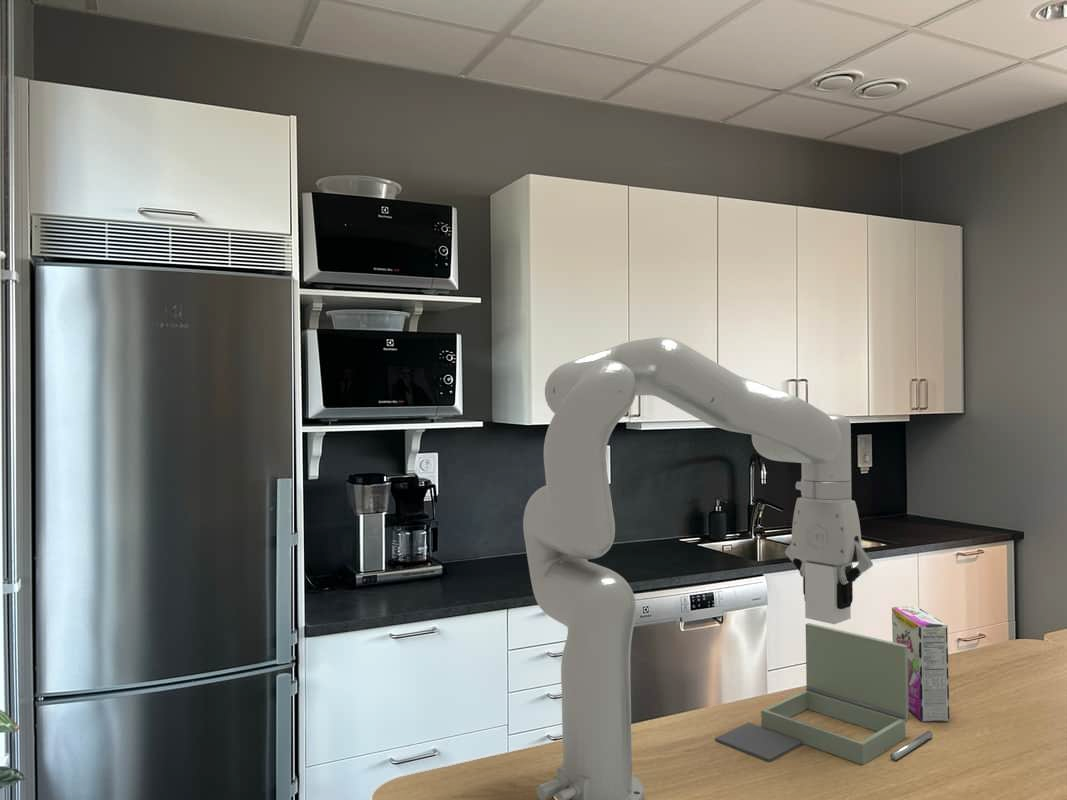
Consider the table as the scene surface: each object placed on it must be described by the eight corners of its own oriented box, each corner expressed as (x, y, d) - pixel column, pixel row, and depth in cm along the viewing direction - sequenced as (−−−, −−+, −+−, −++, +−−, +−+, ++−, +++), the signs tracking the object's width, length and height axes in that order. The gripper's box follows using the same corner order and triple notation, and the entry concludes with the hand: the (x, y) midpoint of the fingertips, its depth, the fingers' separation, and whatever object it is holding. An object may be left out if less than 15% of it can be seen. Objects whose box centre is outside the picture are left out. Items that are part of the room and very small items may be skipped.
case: (862, 764, 118) (861, 666, 118) (761, 728, 131) (760, 640, 131) (909, 735, 127) (908, 645, 127) (810, 704, 141) (809, 622, 141)
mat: (769, 762, 119) (769, 759, 119) (714, 740, 127) (714, 738, 127) (802, 744, 125) (802, 741, 125) (748, 724, 133) (748, 722, 133)
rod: (896, 761, 119) (896, 754, 119) (890, 759, 119) (890, 752, 119) (932, 738, 126) (932, 731, 126) (926, 736, 127) (926, 729, 127)
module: (834, 624, 125) (833, 559, 125) (805, 617, 129) (804, 554, 129) (850, 618, 128) (849, 555, 128) (822, 612, 132) (821, 550, 132)
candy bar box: (891, 697, 143) (890, 606, 143) (919, 697, 143) (918, 605, 143) (920, 723, 132) (919, 624, 132) (951, 722, 132) (949, 623, 132)
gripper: (766, 488, 133) (768, 598, 133) (865, 498, 120) (866, 619, 120) (792, 485, 137) (793, 590, 137) (889, 493, 124) (890, 610, 124)
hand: (827, 602), depth 129 cm, fingers closed on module, 5 cm apart
